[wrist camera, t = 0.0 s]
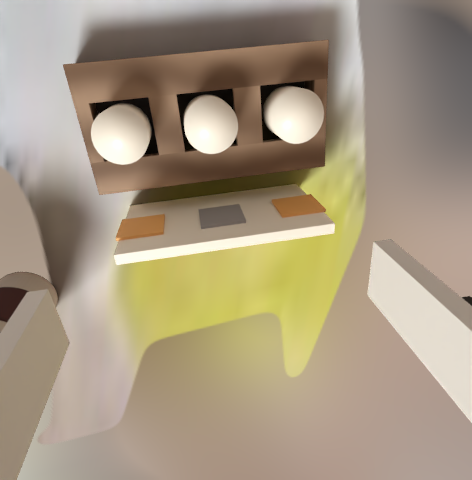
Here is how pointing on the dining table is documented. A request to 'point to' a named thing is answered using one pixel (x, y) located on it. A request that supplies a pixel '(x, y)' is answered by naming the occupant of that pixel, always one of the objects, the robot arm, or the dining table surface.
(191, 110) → the button
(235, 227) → the pattern card
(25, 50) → the dining table surface
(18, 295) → the coffee cup
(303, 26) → the dining table surface
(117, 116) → the button
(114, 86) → the button board
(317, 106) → the button
